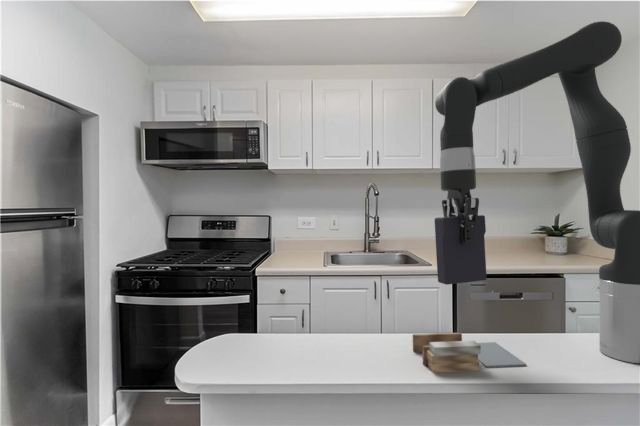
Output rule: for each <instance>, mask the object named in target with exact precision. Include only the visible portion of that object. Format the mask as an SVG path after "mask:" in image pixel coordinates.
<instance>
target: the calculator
mask: <svg viewBox="0 0 640 426" xmlns="http://www.w3.org/2000/svg"><path fill="white" fill-rule="evenodd" d="M471 218H473V216H472V217H471ZM463 221H464V218H463ZM486 227H487V226H486V216H485V215H483V214H482V215H481V214H480V215H479V214H478V217H477V224H476V225H473V227H471V241H472V243H471V244H470V245H462V244H461V243H460V224H459V218H458V217H444V216H440V217H435V218H434V234H435V237H434V238H435V250H436V251H435V252H436V255H435V256H436V269H437V270H436V271H437V273H436V274H437V282H438V283H440V284H442V285H447V286H448V285H454V284H464V283H465V284H466V283H471V282H480V281H487V262H486V261H487V260H486V244H485V235H486V232H487V231H486V230H487V228H486Z"/></svg>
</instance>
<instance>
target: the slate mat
mask: <svg viewBox="0 0 640 426" xmlns="http://www.w3.org/2000/svg"><path fill="white" fill-rule="evenodd" d="M477 343H478V344H479V345H480V346H481V354H478V362H479V364H481V365H483V366H484V367H485V368H507V367H509V368H510V367H511V368H513V367H527V363H526V362H524V361H523V360H521V359H520V358H518V357H517V356H516V355H514V354H513V353H511V352H510V351H508V350H507V349H505V348H504V347H503V346H502V345H500V344H499V343H497V342H496V341H494V342H493V341H492V342H491V341H490V342H489V341H488V342H477Z"/></svg>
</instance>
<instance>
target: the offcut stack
mask: <svg viewBox="0 0 640 426" xmlns="http://www.w3.org/2000/svg"><path fill="white" fill-rule="evenodd" d="M478 343H479V342H476V341H475V340H462V341H449V342H429V350H427V359H428V365H427V366H428V368H429V369H430V371H431V372H432V373H447V372H449V373H451V372H472V371H473V372H474V371H480V362H479V361H478V354H481V346H480V345H479V344H478Z"/></svg>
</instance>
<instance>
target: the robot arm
mask: <svg viewBox="0 0 640 426" xmlns="http://www.w3.org/2000/svg"><path fill="white" fill-rule="evenodd" d="M622 42H623V41H622V34H621V30H620V29H619V28H618V26H616V25H615V24H614V23H611V22H609V21H603V20H601V21H594V22H592V23H589V24H587V25H585V26H583V27H581V28H579V30H577V31H576V32H574V33H572V34H571V35H568V36H567V37H565V38H563V39H561V40H558V41H557V42H555V43H552V44H550V45H548V46H546V47H543V48H540V49H538V50H536V51H533V52H530V53H528V54H526V55H522V56H520V57H517V58H514V59H512V60H509V61H506V62H502V63H500V64H498V65H495V66H492V67H490V68H487V69H485V70H483V71H481V72H479V73H478V74H476V76H473V77H472V78H470V79H469V78H467V77H463V76H460V77H459V76H458V77H455V78H453V79H451V80H449V82H447V83H446V84H445V86H443V87H442V88H441V90H440V91H439V92H438V93H437V96H436V97H435V101H434V104H435V106H434V107H435V109H436V111H437V112H438V113H439V114H440V115H442V116H444V122H443V126H442V127H441V128H440V134H439V137H440V138H439V141H440V142H439V143H440V157H439V166H440V167H439V171H440V174H439V175H440V189H441V190H442V191H443V192H447V197H446V198H447V199H442V200H441V205H442V206H441V207H442V212H443V213H442V214H443V217H458V218H459V224H460V243H461V244H462V245H470V244H471V243H472V241H471V227H473V225H476V224H477V217H478V215H479V205H480V199H479V197H472V194H471V190H475V189H476V188H477V178H476V176H477V174H476V156H475V152H474V132H473V131H474V130H473V127H474V122H475V118H476V116H475V115H476V110H477V107H479V106H481V105H483V104H485V103H488V102H492V101H494V100H498V99H501V98H504V97H505V96H509V95H511V94H513V93H517V92H519V91H522V90H524V89H525V88H528V87H530V86H531V85H534V84H536V83H538V82H540V81H543V80H544V79H546V78H548V77H551V76H553V75H555V74H558V77H559V80H560V83H561V86H562V88H563V91H564V94H565V97H566V101H567V105H568V109H569V113H570V118H571V121H572V125H573V129H574V135H575V136H574V137H575V141H576V146H577V152H578V156H579V160H580V163H581V168H582V172H583V173H582V175H583V179H584V184H585V191H586V196H587V197H586V198H587V209H588V223H589V229H590V235H591V236H592V238H593V240H594V241H595V242H596V243H597V244H598V245H599V246H601V247H604V248H606V249H609V250H610V249H611V250H614V257H613V259H612V261H611V262H610V263H606V264H602V265H601V266H600V267H599V269H598V270H599V271H598V272H599V273H598V275H599V276H598V288H599V289H598V290H599V291H598V292H599V293H598V297H599V299H598V301H599V304H598V305H599V307H598V308H599V311H598V312H599V313H598V314H599V321H598V322H599V323H598V324H599V326H598V327H599V330H598V331H599V336H598V337H599V351H600V353H602V354H604V355H606V356H608V357H610V358H611V359H615V360H618V361H622V362H627V363H633V364H640V210H638V209H637V210H635V209H633V210H632V209H624V205H623V201H622V197H621V183H622V179H623V176H624V173H625V171H626V169H627V166H628V163H629V160H630V156H631V153H632V147H631V146H632V145H631V140H630V136H629V131H628V126H627V123H626V120H625V118H624V116H623V115H622V114H621V112H619V111H618V109H616V108H615V107H614V105H613V104H612V103H610V102H609V101H608V99H607V98H606V97H604V95H603V93H602V92H601V90H600V88H599V83H598V80H597V75H596V68H597V67H599V66H602V65H603V64H605V63H606V62H608V61H609V60H610V59H612V58H613V57H614V56H616V54H617V52H618V51H619V49H620V48H621V45H622ZM472 216H473V218H471V217H472ZM463 218H464V221H463Z"/></svg>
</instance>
